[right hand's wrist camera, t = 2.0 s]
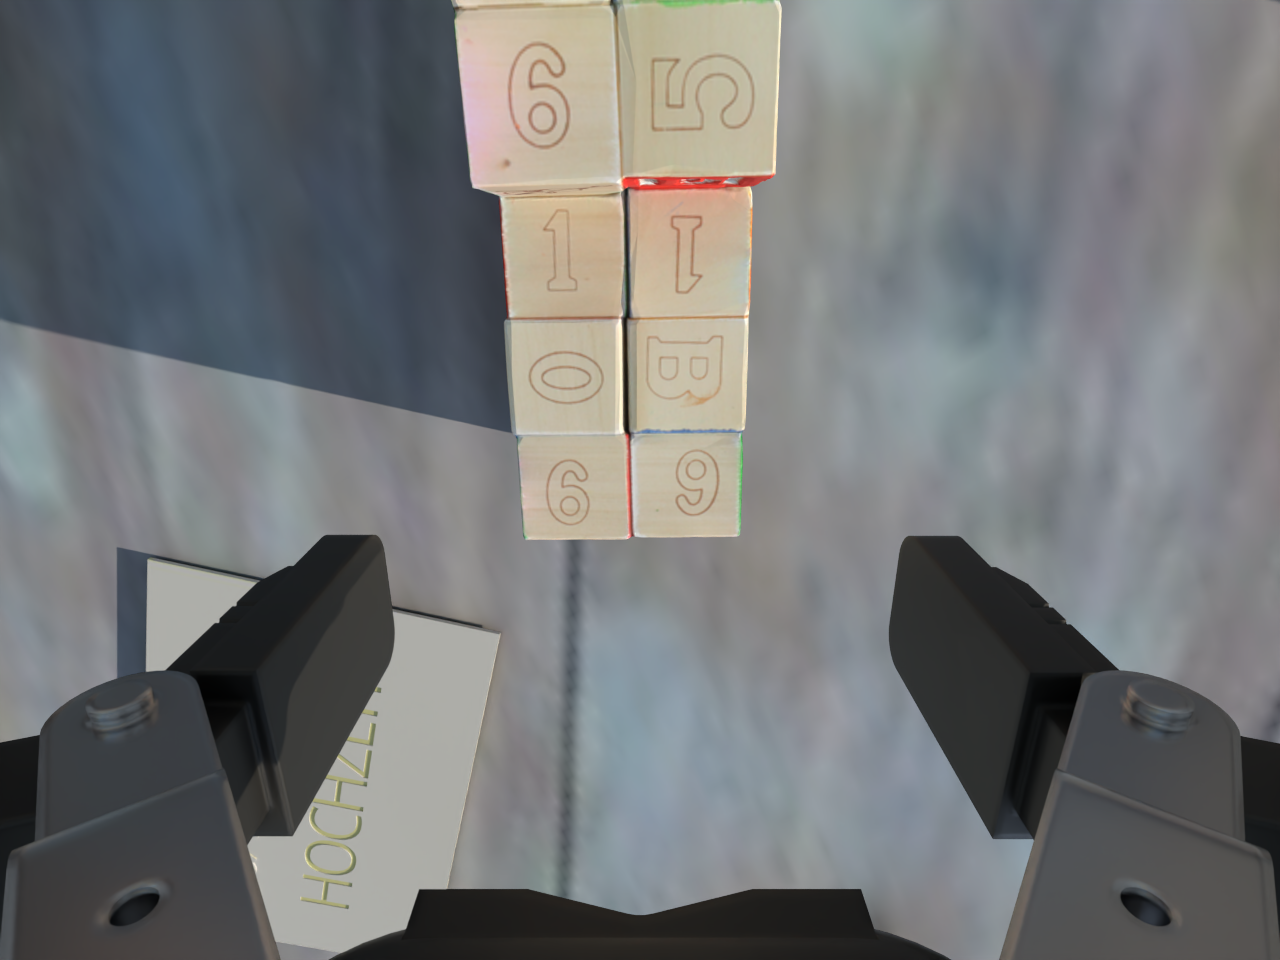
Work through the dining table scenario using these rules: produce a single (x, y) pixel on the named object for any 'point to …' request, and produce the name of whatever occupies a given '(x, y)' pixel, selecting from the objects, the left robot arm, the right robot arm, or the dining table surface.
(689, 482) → the stack of blocks
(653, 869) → the dining table surface
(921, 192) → the dining table surface
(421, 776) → the invitation card
